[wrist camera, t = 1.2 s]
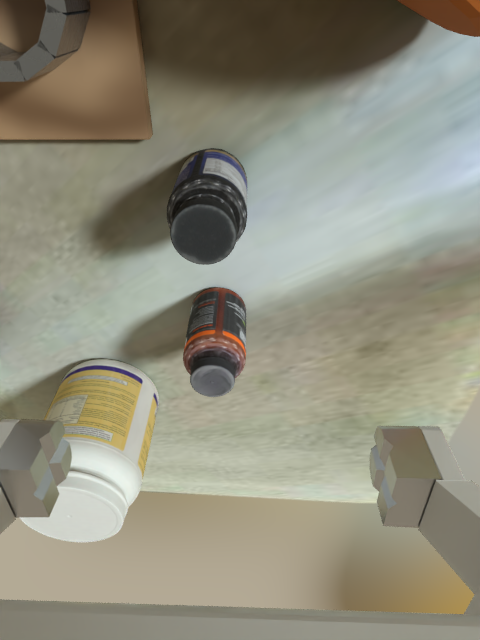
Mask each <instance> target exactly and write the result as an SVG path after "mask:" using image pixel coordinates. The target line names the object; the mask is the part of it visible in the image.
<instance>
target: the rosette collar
mask: <svg viewBox="0 0 480 640" xmlns="http://www.w3.org/2000/svg"><path fill="white" fill-rule="evenodd" d="M45 4H46V12H45V16H44V20H43V24H42V28H41V32H40V36H39V40H38V43H37V44H35V45H34V46H33V47H32V48H30V49H29V50H28V51H27V52H17V51H15V50H13V49H11V48H10V47H8V46H6V45H4V44H3V43H1V42H0V82H25V81H28V80H30V79H33V78H35V77H37V76H40V75H42V74H45V73H47V72H50V71H52V70H54V69H56V68H57V67H58V66H59V65H61V64H62V63H63V62H64V61H66V60H67V59H68V58H69V57H71V56H72V55H73V54H75V53H76V52H77V51H78V49H79V48H80V47H81V43H82V40H83V37H84V33H85V30H86V27H87V23H88V20H89V16H90V13H91V12H90V11H88V10H89V9H91V7H90V1H89V0H45Z"/></svg>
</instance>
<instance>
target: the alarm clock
mask: <svg viewBox="0 0 480 640" xmlns="http://www.w3.org/2000/svg"><path fill="white" fill-rule="evenodd" d="M397 1H398V2H400V3H402V4H403V5H405V6H407V7H408V8H410V9H412V10H413V11H415V12H416V13H418V14H420V15H421V16H423V17H425V18H426V19H428V20H430V21H431V22H433V23H435V24H437V25H439V26H441V27H443V28H445V29H447V30H450V31H453V32H456V33H459V34H463V35H469V36H474V37H478V36H480V0H397Z"/></svg>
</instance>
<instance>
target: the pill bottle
mask: <svg viewBox="0 0 480 640" xmlns="http://www.w3.org/2000/svg"><path fill="white" fill-rule="evenodd" d="M246 219H247V177H246V173H245V171H244V168H243V166H242V165H241V163H240V162H239V161H238V159H237V158H236V157H234V156H233V155H232V154H230V153H228V152H226V151H224V150H222V149H214V148H211V149H205V150H201V151H198V152H196V153H194V154H193V155H191V156H190V157H189V158H188V159H187V160H186V161H185V163H184V164H183V166H182V169H181V171H180V173H179V176H178V178H177V181H176V184H175V186H174V189H173V192H172V194H171V196H170V199H169V202H168V206H167V220H168V224H169V227H170V235H171V240H172V243H173V245H174V247H175V249H176V250H177V252H178V253H179V254H180V255H181V256H182V257H184V258H185V259H187V260H189V261H191V262H193V263H196V264H214V263H217V262H219V261H221V260H223V259H224V258H226V257H227V256H228V255H229V254H230V253H231V251H232V250H233V248H234V246H235V243H236V242H237V241H238V240H239V238H240V237H241V235H242V234H243V232H244V229H245V227H246V221H247V220H246Z"/></svg>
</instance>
